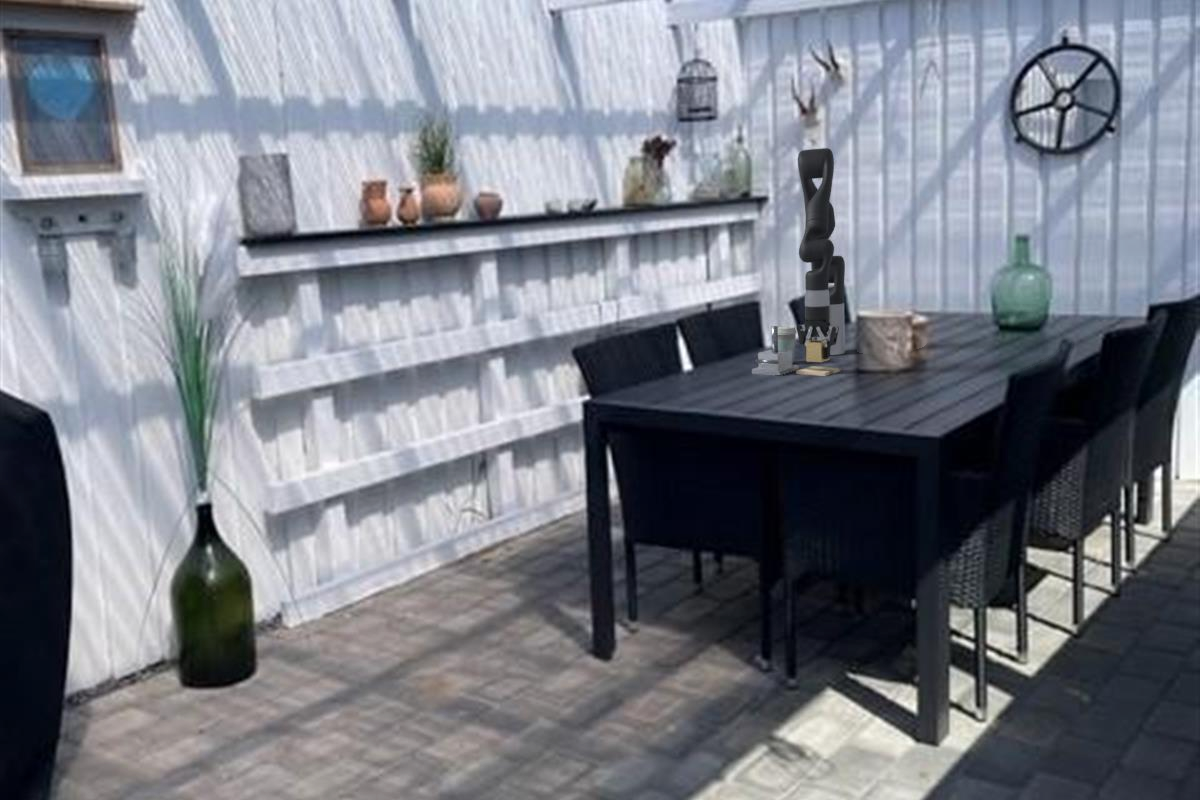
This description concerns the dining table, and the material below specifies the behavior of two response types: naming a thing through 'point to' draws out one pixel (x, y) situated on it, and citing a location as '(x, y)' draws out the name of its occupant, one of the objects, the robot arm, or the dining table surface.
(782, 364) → the block
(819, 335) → the robot arm
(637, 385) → the dining table surface
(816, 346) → the collar
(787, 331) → the coffee cup
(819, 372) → the beige pad
